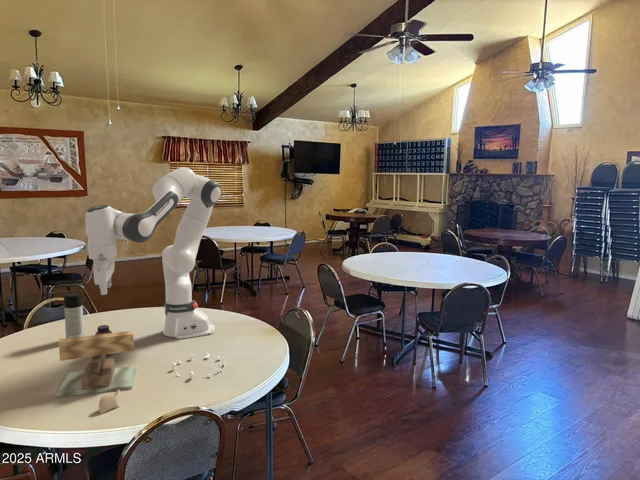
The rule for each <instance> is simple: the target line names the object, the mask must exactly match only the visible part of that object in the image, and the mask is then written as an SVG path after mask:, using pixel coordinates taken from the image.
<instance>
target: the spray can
mask: <svg viewBox="0 0 640 480" xmlns="http://www.w3.org/2000/svg"><path fill="white" fill-rule="evenodd" d="M63 304H64V305H63V306H64V321H65V322H64V323H65V325H64V326H65V339H67V338H75V337H84V336H85V333H84V332H85V329H84V328H85V327H84V315H83V314H84V310H83V307H84V306H83V296H82V292H69V293H66V294H64V295H63Z"/></svg>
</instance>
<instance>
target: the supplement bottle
mask: <svg viewBox="0 0 640 480" xmlns="http://www.w3.org/2000/svg"><path fill="white" fill-rule="evenodd" d="M109 333H113V331H112V330H110V326H109V325H108V324H102V325H98V326H97V331H96V332H95V334H94V335H101V334H109ZM111 355H112V354H107V355H106V357H107V356H111Z"/></svg>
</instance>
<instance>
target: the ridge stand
mask: <svg viewBox="0 0 640 480" xmlns="http://www.w3.org/2000/svg"><path fill="white" fill-rule="evenodd" d="M136 372H137V366H136V365H133V366H132V365H131V366H122V367H116V363H115V358H107V356H106V355H99V356H92V357H91V360H89V361H88V363H87V365H86V367H85V369H84V370H83V371H82V370H81V371H71V372H68V373H67V374H66V376H65V377H64V379H63V380H62V383H61V385H60V387H59V388H58V390H57V392H56V394H55V395H56V398H61V397H63V398H64V397H70V396H71V397H72V396H79V395H88V394H97V393H105V392H114V391H115V392H116V391H117V390H120V391H123V390H132V389H133V387H134V382H135V377H136Z"/></svg>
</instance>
